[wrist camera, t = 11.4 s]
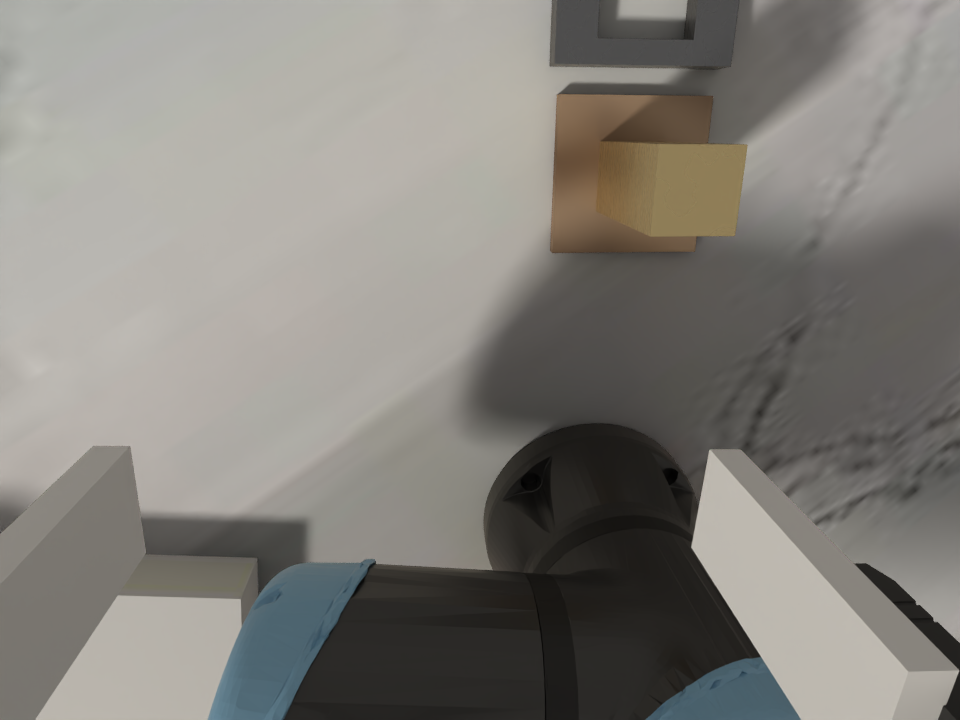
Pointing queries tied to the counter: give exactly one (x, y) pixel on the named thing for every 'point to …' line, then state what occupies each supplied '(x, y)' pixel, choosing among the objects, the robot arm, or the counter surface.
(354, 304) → the counter surface
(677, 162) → the square wooden peg
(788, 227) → the counter surface
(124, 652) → the disc drive
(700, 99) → the walnut pad
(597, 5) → the grey flat slotted block
